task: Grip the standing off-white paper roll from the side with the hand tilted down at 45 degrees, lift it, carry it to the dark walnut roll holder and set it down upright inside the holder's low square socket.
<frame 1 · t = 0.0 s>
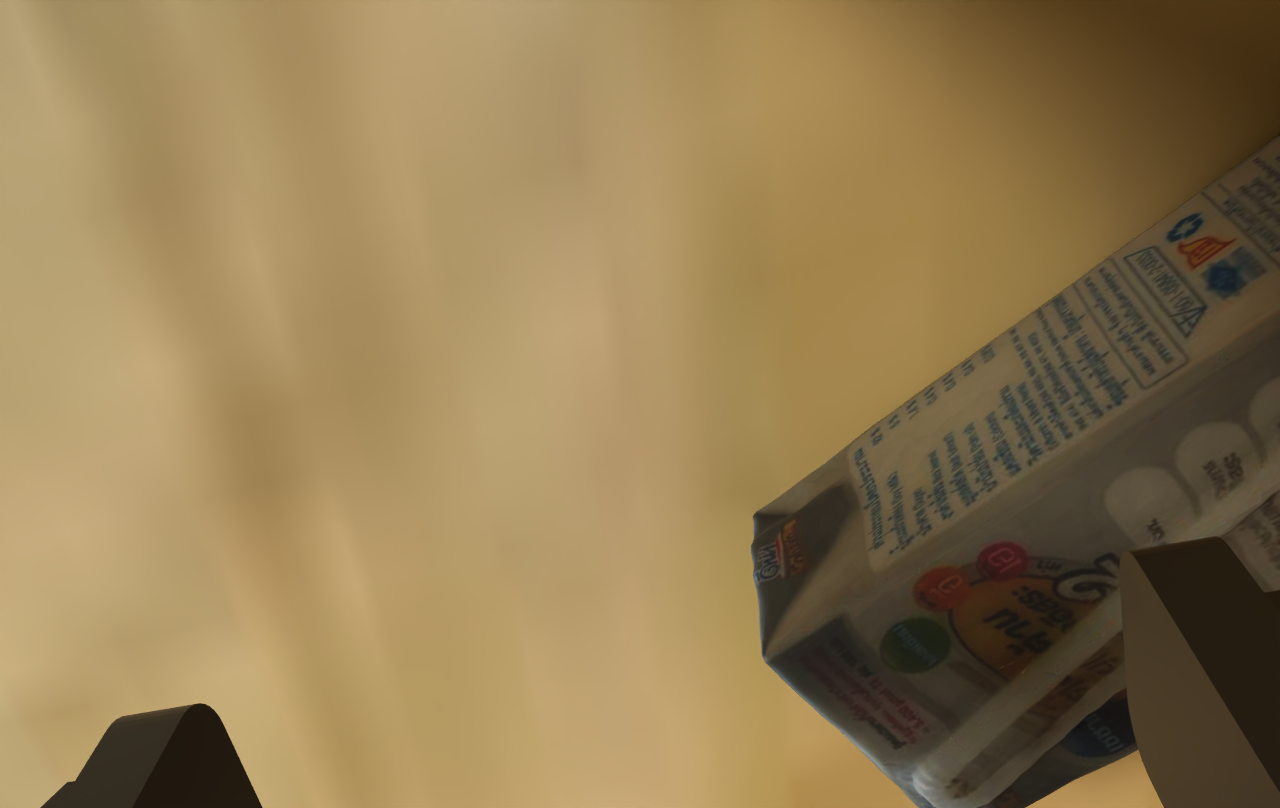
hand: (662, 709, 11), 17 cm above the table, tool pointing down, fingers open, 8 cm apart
beverage carton: (1142, 382, 29), on the table
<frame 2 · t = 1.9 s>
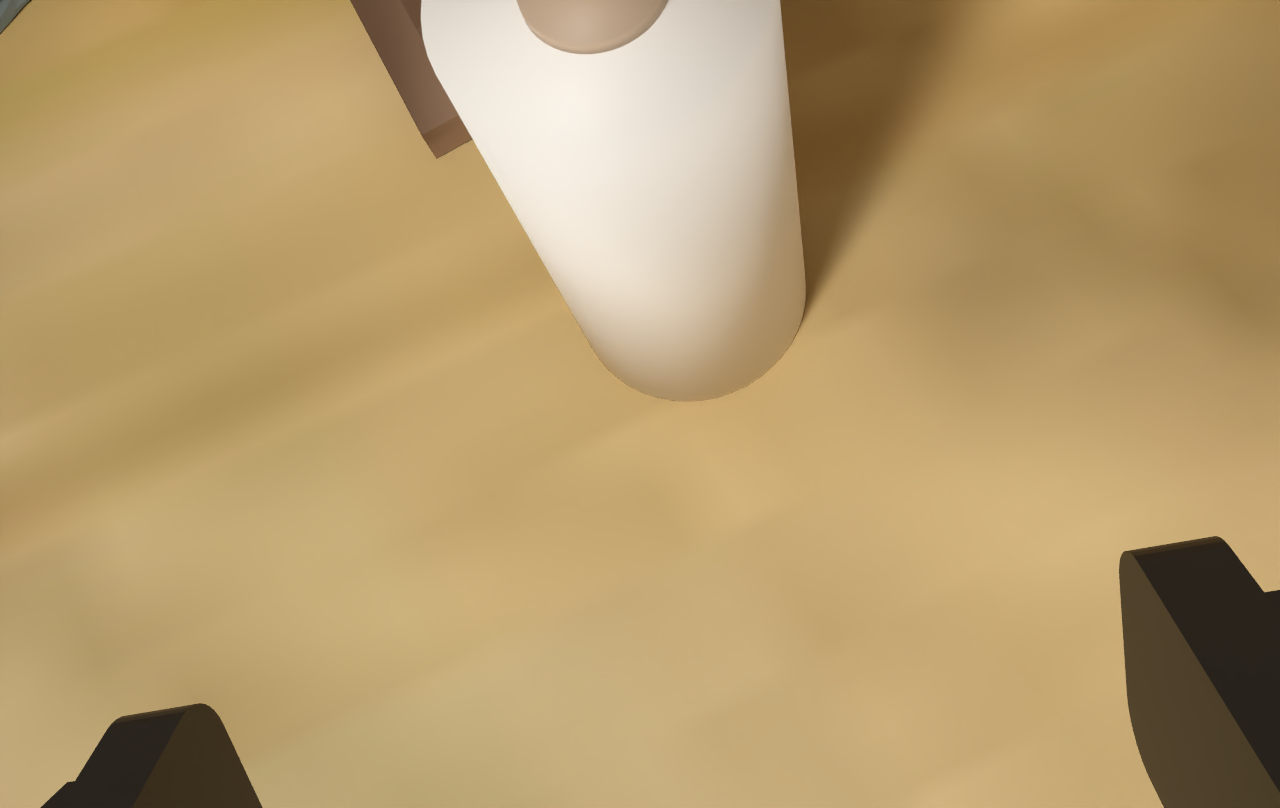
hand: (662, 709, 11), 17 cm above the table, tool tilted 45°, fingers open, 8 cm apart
paper roll: (691, 293, 30), on the table
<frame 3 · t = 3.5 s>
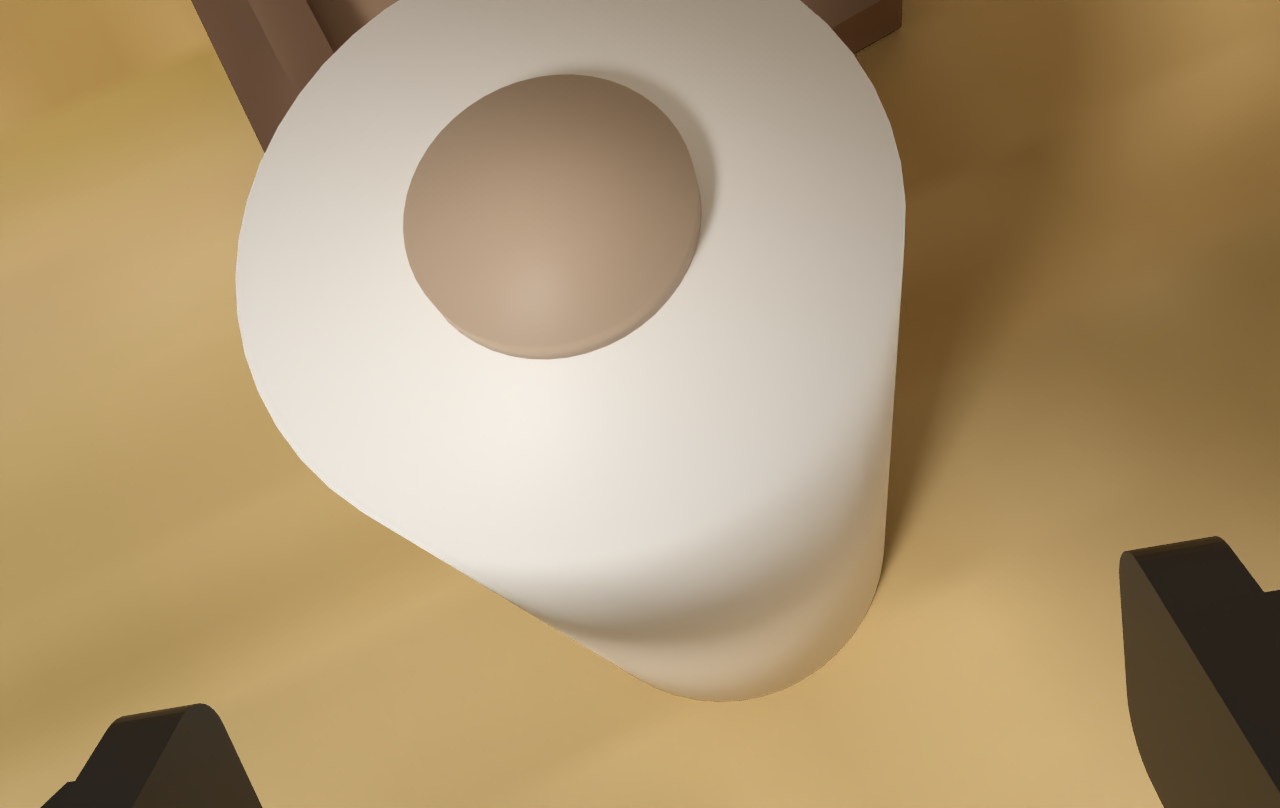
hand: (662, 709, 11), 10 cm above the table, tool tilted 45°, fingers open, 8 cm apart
paper roll: (719, 536, 21), on the table
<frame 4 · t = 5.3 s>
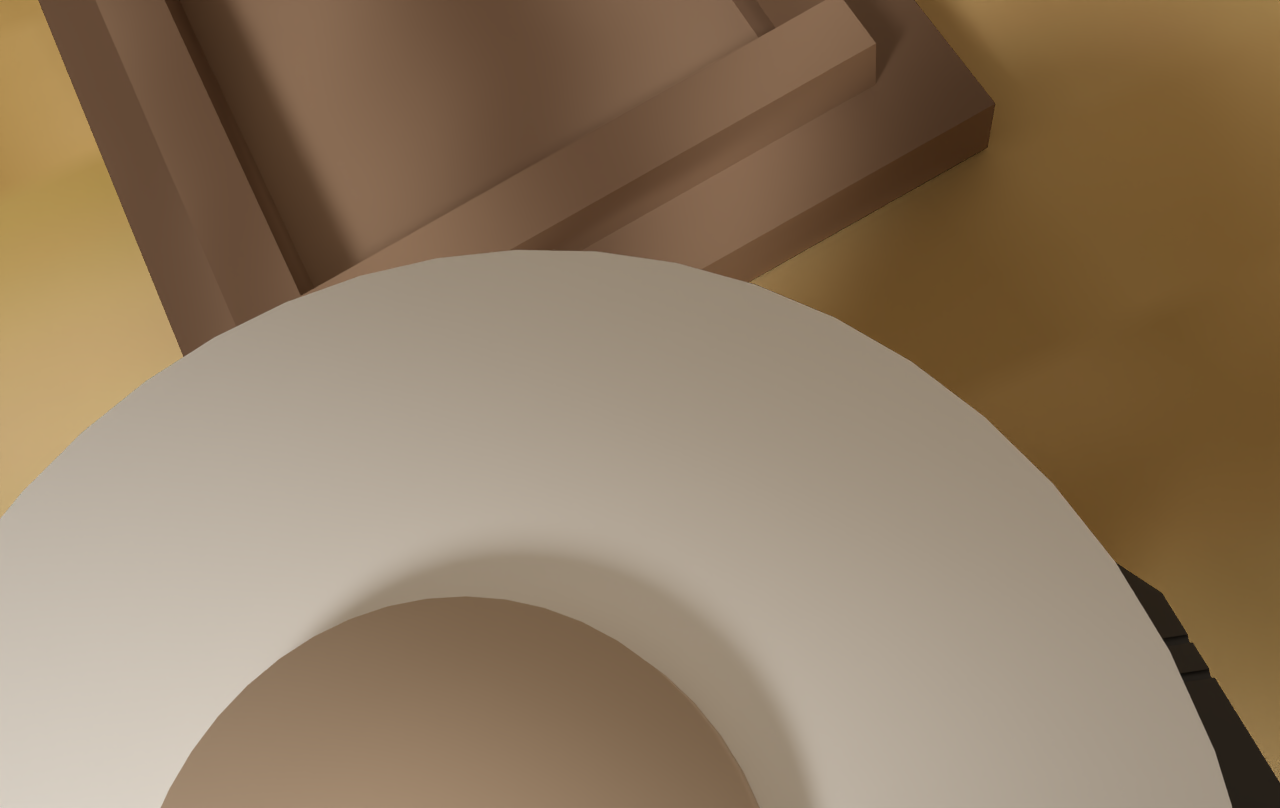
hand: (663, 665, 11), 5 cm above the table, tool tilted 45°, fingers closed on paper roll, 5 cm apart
walnut holder: (474, 59, 20), on the table
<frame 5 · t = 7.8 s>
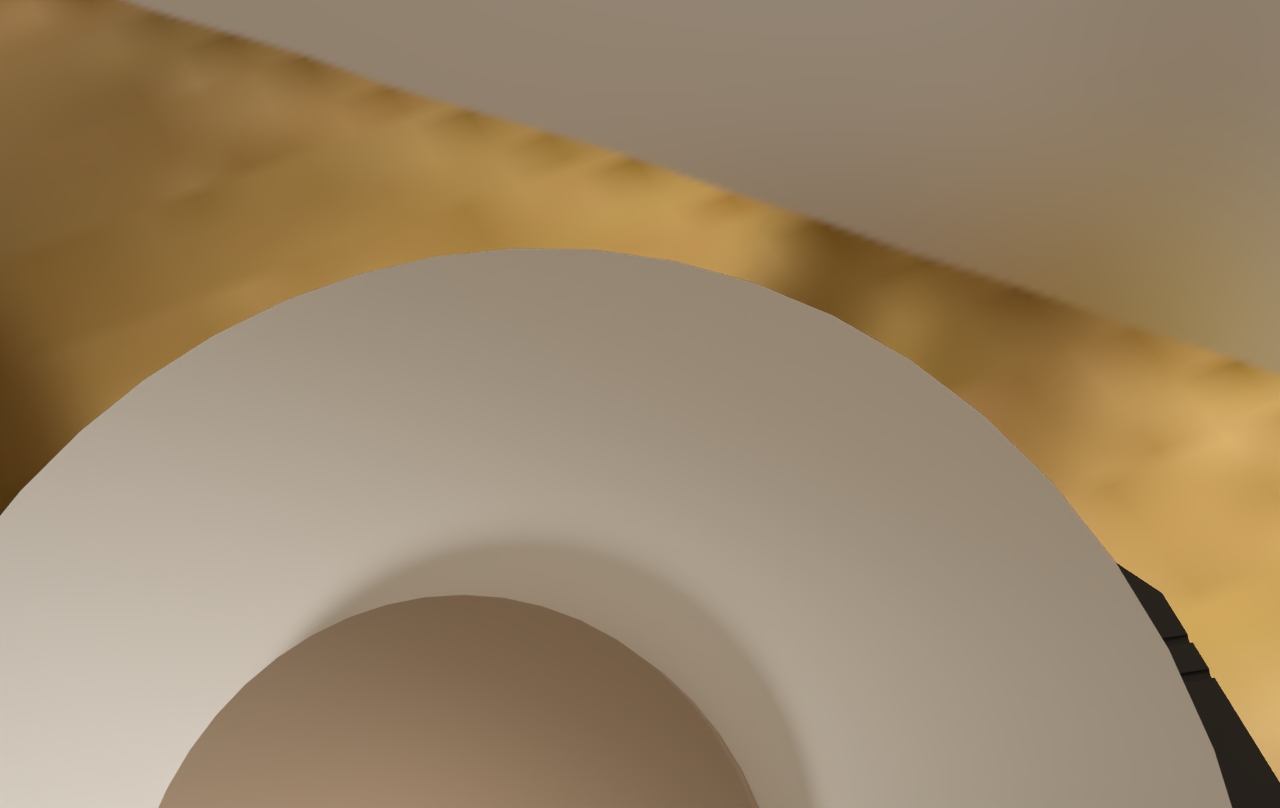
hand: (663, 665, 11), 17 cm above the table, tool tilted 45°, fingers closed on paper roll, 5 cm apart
when the fingers open (9 cm above the table, at t = 10.3 s): paper roll drops 2 cm, resting on walnut holder.
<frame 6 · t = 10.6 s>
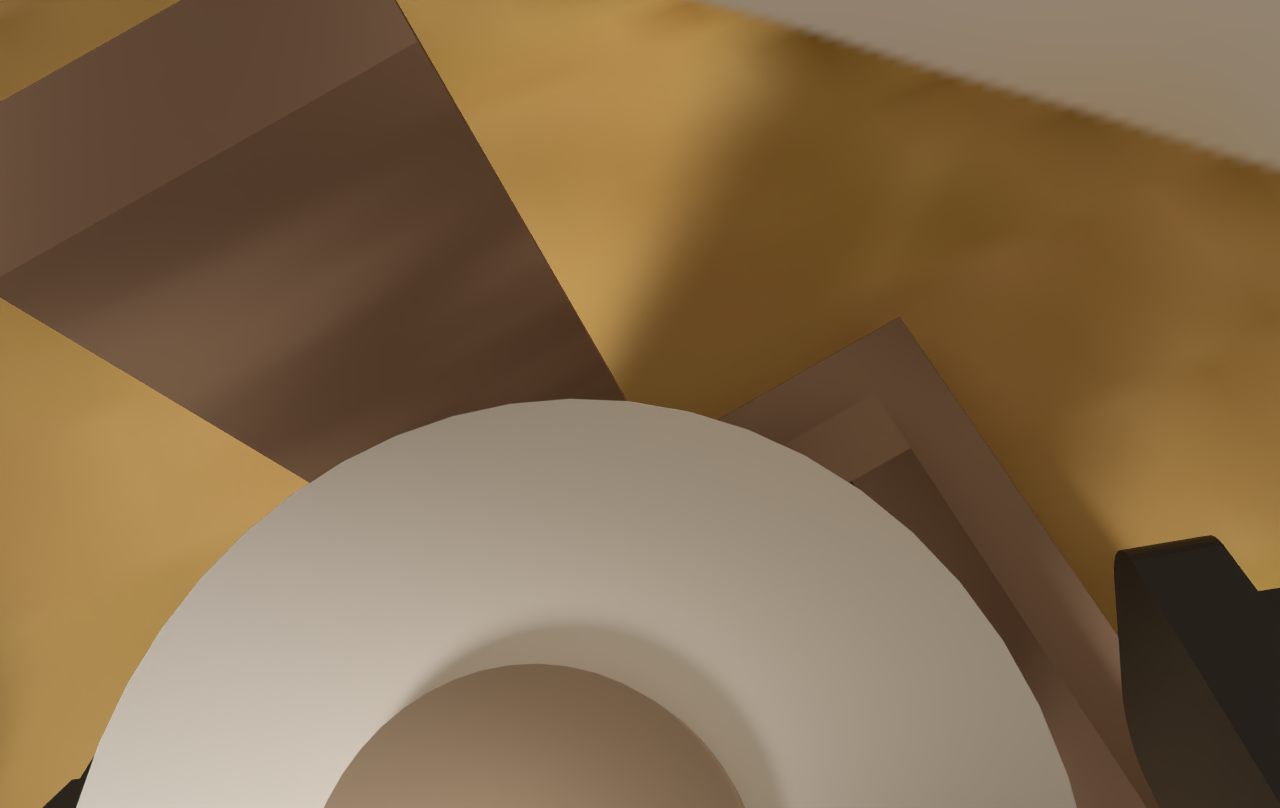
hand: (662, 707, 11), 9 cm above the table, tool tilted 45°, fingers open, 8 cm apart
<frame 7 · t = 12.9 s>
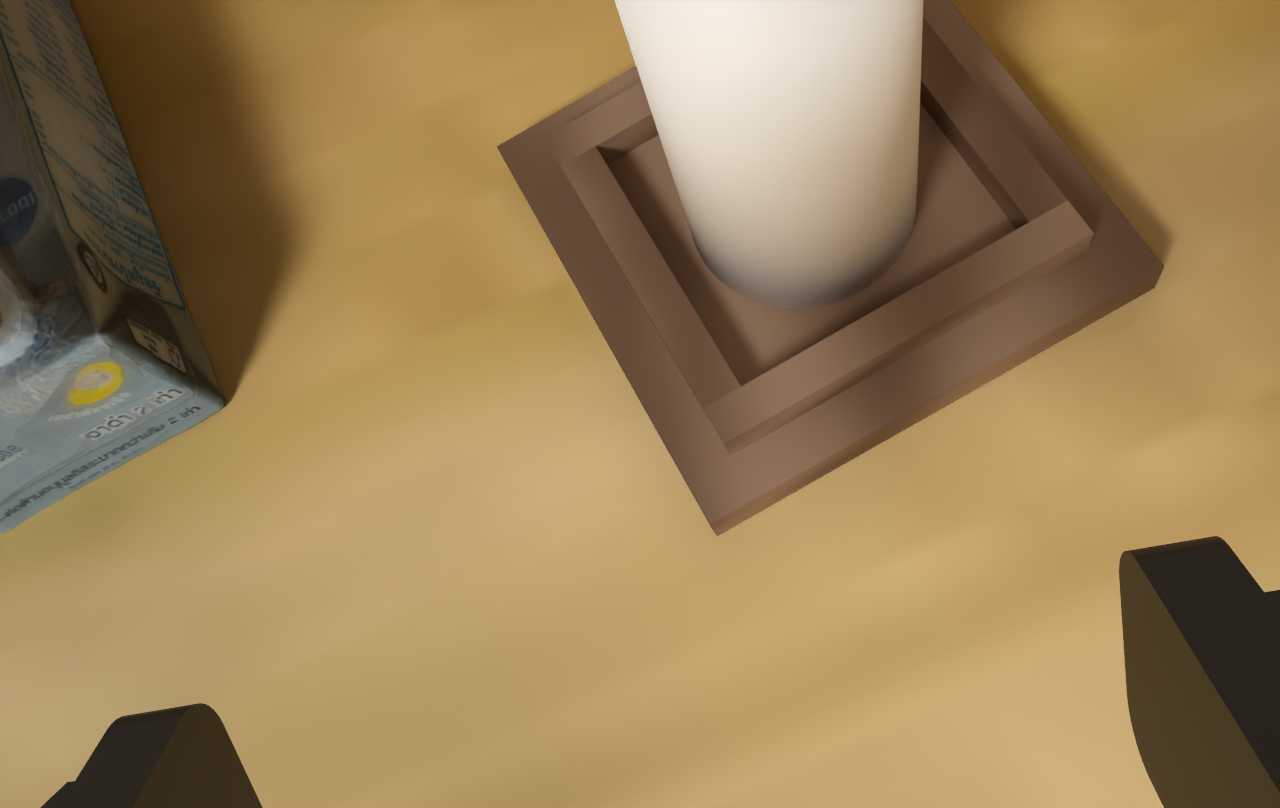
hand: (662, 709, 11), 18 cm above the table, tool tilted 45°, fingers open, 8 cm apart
walnut holder: (808, 223, 31), on the table
paper roll: (801, 205, 30), point 1 cm above the table, touching walnut holder
beverage carton: (34, 224, 37), on the table
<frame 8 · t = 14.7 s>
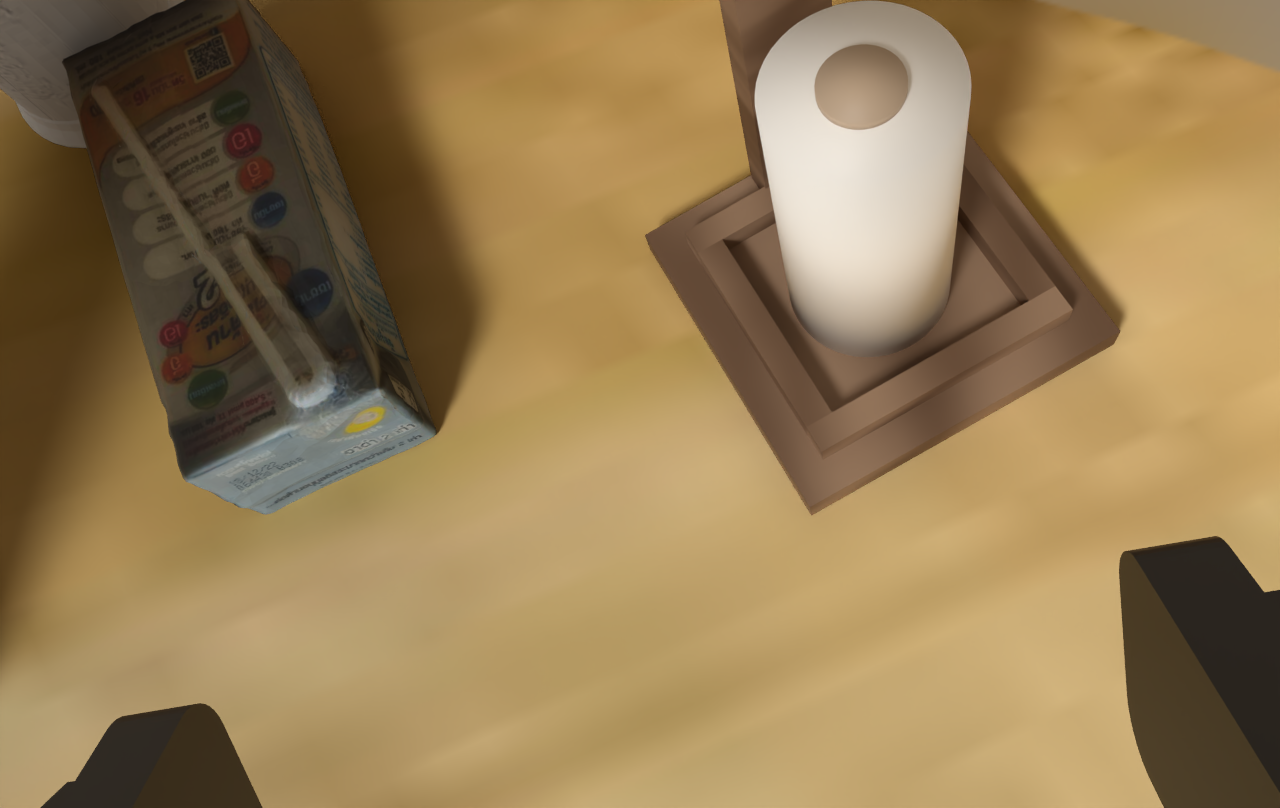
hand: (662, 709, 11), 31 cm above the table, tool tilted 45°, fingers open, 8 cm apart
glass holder: (52, 83, 54), on the table
walnut holder: (870, 294, 44), on the table
paper roll: (868, 283, 43), point 1 cm above the table, touching walnut holder
beverage carton: (285, 280, 49), on the table
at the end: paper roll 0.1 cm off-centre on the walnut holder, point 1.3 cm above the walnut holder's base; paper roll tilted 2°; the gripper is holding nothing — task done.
